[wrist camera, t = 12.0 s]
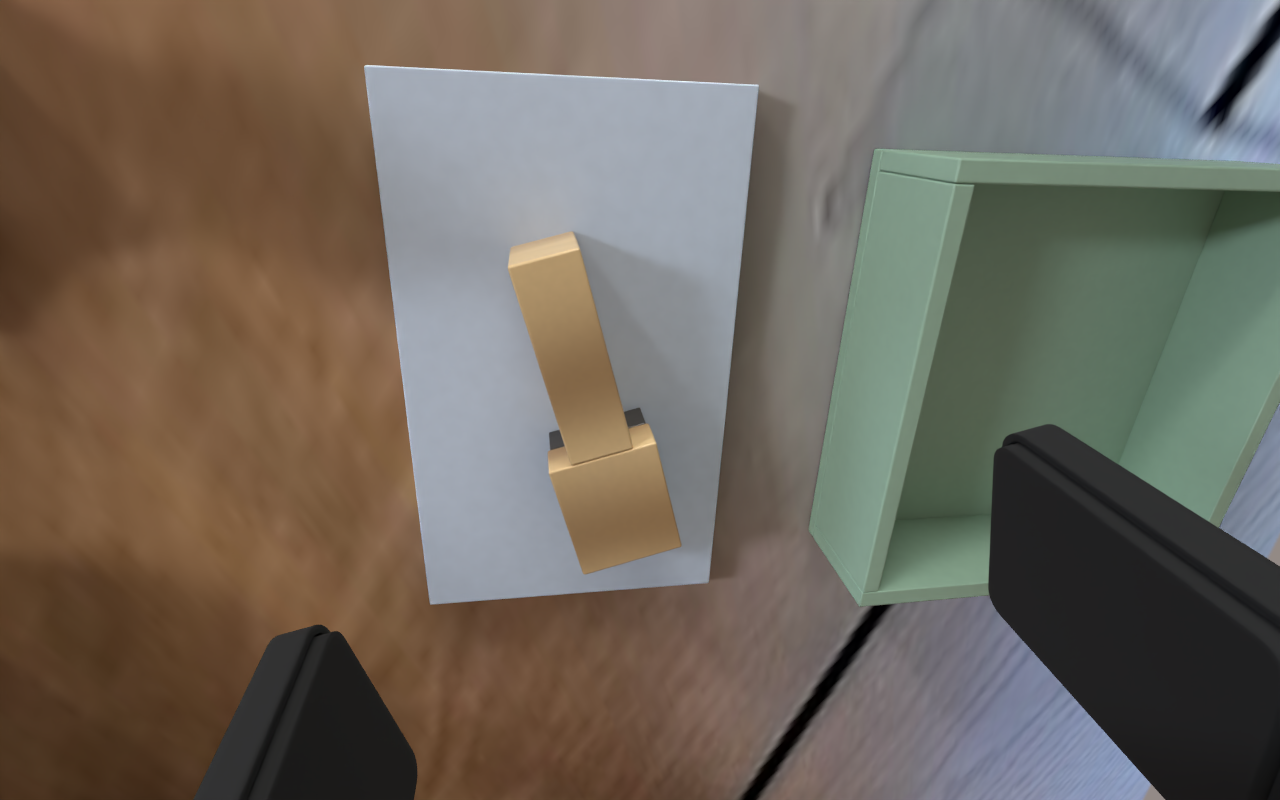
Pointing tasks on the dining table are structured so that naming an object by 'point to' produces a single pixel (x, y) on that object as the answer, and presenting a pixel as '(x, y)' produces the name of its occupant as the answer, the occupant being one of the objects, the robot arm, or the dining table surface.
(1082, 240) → the basket
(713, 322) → the mat
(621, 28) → the dining table surface
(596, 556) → the brush
